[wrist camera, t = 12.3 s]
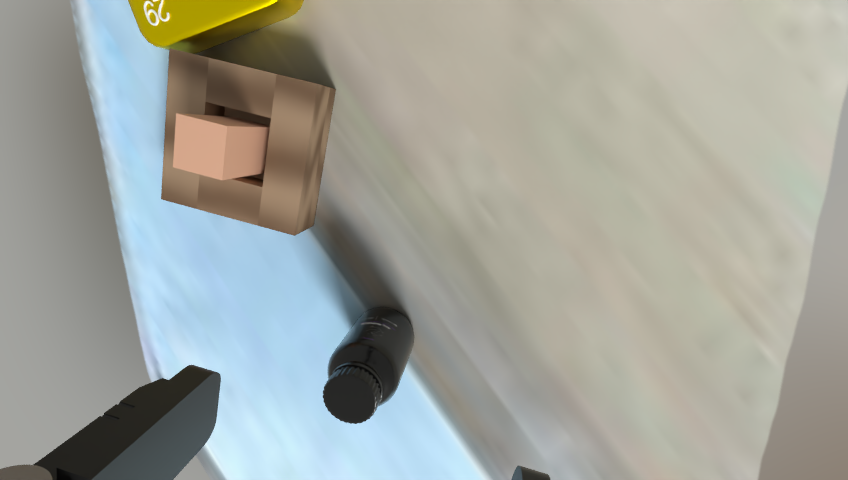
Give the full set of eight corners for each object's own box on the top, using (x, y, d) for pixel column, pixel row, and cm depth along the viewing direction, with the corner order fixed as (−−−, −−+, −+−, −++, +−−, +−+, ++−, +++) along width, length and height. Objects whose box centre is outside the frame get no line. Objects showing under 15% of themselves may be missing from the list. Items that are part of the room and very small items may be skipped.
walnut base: (202, 57, 41) (169, 48, 37) (335, 89, 40) (317, 83, 36) (192, 192, 45) (161, 199, 41) (313, 225, 44) (294, 235, 40)
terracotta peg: (234, 117, 41) (176, 113, 33) (276, 127, 40) (227, 126, 33) (230, 161, 42) (172, 167, 34) (270, 171, 42) (221, 180, 34)
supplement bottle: (394, 294, 45) (362, 350, 33) (426, 345, 46) (406, 417, 34) (343, 321, 46) (296, 383, 35) (375, 370, 47) (339, 446, 36)
